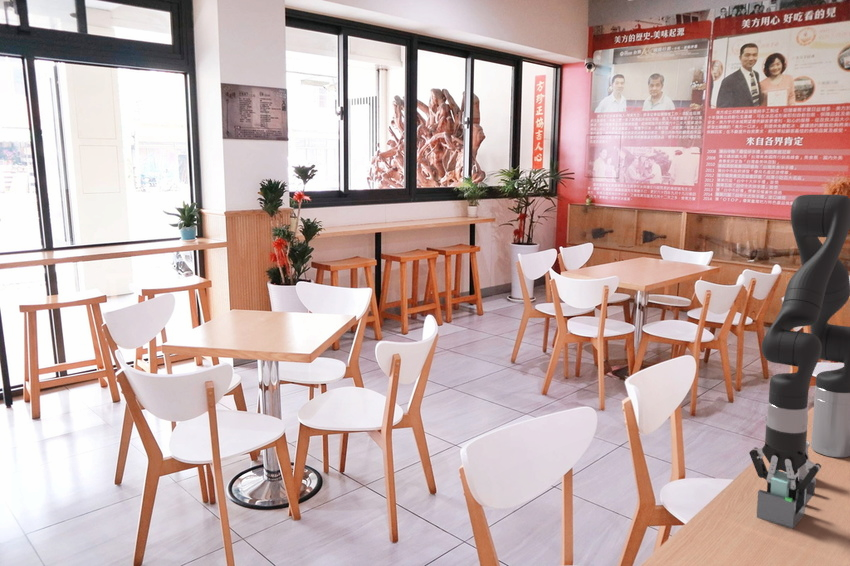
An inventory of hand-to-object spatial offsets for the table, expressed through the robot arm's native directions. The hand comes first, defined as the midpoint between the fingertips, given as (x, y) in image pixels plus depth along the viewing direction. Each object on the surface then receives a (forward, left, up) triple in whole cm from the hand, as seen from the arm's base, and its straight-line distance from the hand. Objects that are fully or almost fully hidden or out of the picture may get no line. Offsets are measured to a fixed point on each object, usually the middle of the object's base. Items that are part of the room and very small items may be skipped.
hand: (781, 500), depth 139 cm
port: (0, 0, -4) cm, 4 cm away
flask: (-20, -2, -4) cm, 21 cm away
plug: (0, 0, -2) cm, 2 cm away
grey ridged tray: (-11, 0, -4) cm, 12 cm away
